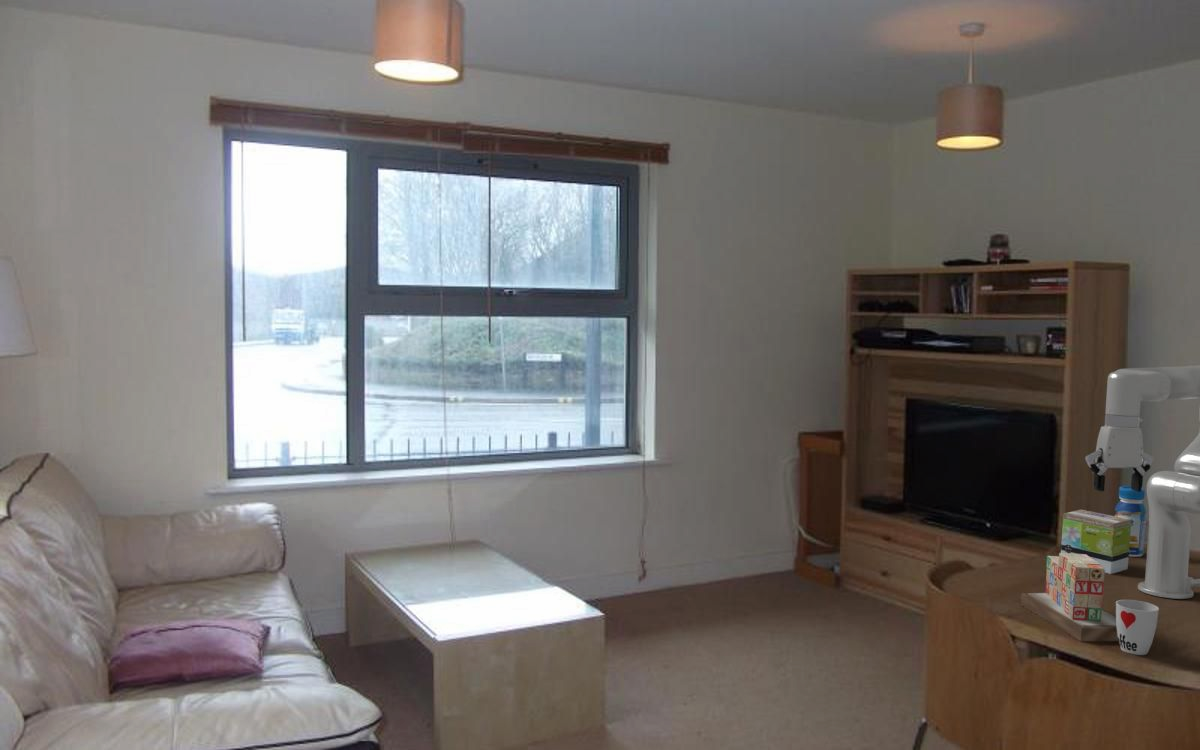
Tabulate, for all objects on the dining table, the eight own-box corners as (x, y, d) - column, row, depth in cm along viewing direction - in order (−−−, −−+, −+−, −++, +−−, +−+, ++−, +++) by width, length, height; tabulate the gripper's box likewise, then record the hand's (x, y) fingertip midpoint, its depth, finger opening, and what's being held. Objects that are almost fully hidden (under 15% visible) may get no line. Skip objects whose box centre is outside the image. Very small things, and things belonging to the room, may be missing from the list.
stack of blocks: (1044, 592, 246) (1047, 543, 245) (1071, 594, 245) (1074, 544, 245) (1072, 619, 225) (1075, 565, 224) (1102, 621, 224) (1105, 567, 223)
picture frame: (1071, 604, 248) (1072, 591, 247) (1136, 640, 222) (1137, 626, 222) (1020, 605, 246) (1021, 592, 246) (1080, 641, 221) (1081, 626, 220)
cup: (1105, 644, 219) (1108, 599, 218) (1140, 644, 220) (1143, 599, 219) (1127, 657, 211) (1130, 611, 210) (1164, 657, 212) (1167, 611, 211)
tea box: (1059, 562, 289) (1061, 512, 287) (1077, 558, 295) (1080, 508, 293) (1111, 575, 277) (1114, 522, 275) (1129, 569, 283) (1132, 518, 281)
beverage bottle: (1150, 557, 297) (1154, 490, 296) (1126, 558, 295) (1130, 491, 294) (1129, 549, 306) (1133, 485, 304) (1105, 550, 304) (1109, 485, 302)
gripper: (1145, 420, 252) (1141, 487, 253) (1080, 419, 250) (1075, 487, 251) (1164, 424, 244) (1160, 493, 246) (1097, 423, 243) (1093, 493, 244)
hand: (1117, 490), depth 248 cm, fingers open, 9 cm apart
